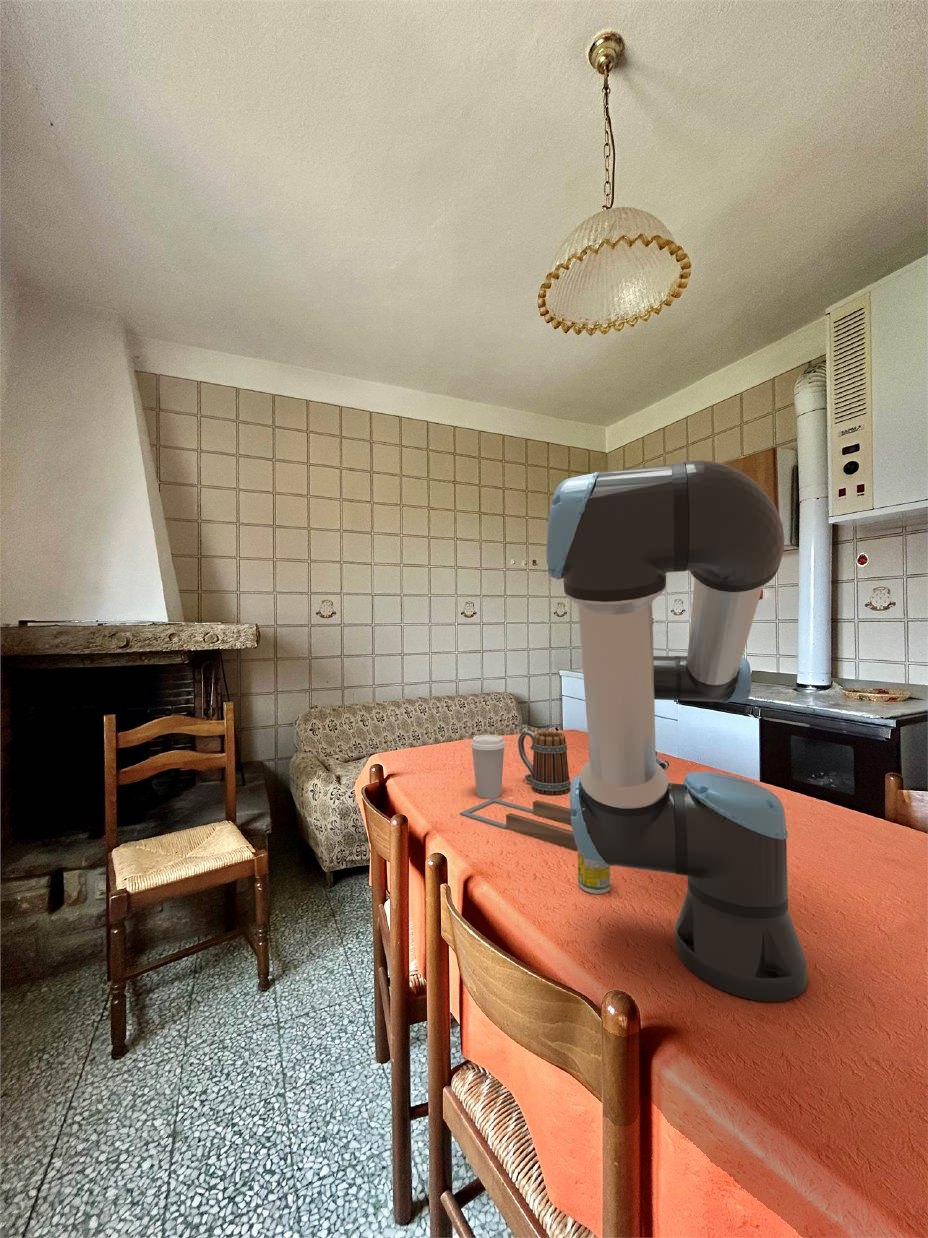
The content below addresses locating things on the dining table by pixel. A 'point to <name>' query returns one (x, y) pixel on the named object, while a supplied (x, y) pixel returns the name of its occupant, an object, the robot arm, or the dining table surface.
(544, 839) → the chute
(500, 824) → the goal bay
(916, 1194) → the dining table surface
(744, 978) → the robot arm
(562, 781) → the mug
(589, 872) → the supplement bottle
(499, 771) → the coffee cup
